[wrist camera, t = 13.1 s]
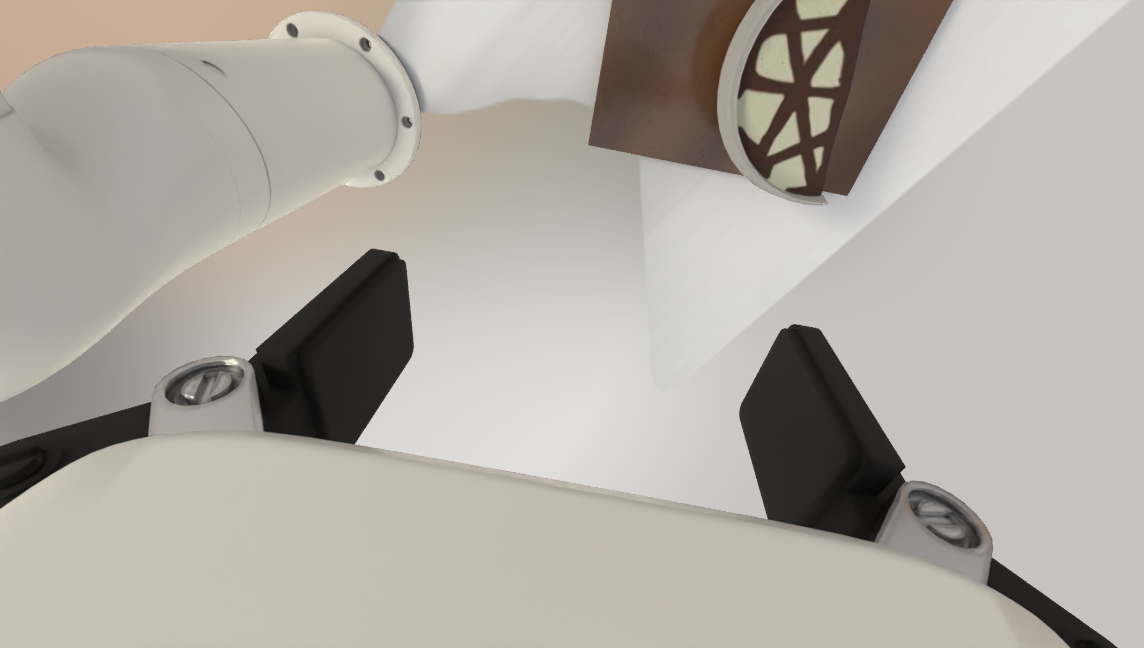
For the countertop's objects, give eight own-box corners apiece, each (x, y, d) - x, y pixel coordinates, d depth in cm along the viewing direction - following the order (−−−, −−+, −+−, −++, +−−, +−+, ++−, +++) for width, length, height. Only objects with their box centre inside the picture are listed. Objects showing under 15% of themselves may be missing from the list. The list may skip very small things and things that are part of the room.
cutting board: (590, 140, 34) (588, 145, 33) (627, -80, 27) (626, -85, 25) (840, 190, 34) (847, 196, 32) (950, -20, 26) (965, -22, 25)
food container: (711, -42, 26) (742, -72, 18) (821, -54, 25) (907, -91, 17) (693, 168, 33) (709, 216, 25) (779, 165, 32) (825, 214, 24)
